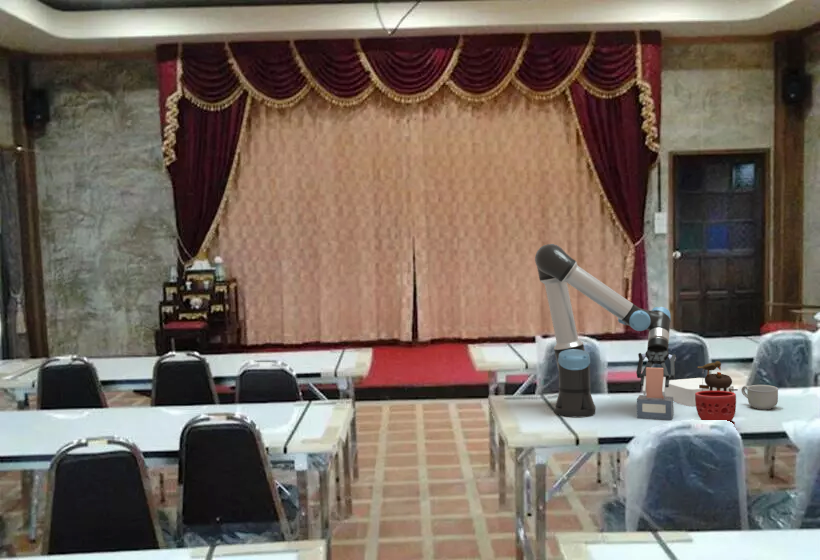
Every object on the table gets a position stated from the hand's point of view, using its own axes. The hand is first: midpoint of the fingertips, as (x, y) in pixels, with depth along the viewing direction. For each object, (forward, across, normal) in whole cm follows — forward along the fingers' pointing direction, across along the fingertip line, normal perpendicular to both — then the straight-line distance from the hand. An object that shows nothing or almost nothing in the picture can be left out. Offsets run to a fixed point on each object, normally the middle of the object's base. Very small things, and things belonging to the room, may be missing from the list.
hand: (653, 393), depth 282 cm
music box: (-4, -21, -17) cm, 27 cm away
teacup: (-16, -35, -29) cm, 48 cm away
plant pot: (+11, -21, -2) cm, 24 cm away
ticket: (+3, 0, -8) cm, 8 cm away
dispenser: (+4, 0, -9) cm, 10 cm away
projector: (-21, -12, -35) cm, 43 cm away
